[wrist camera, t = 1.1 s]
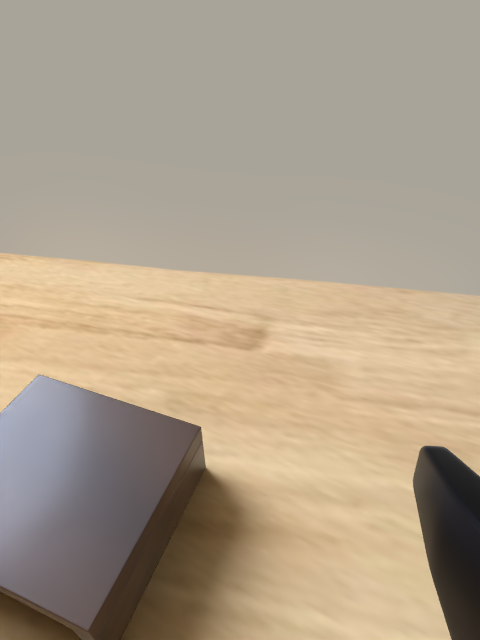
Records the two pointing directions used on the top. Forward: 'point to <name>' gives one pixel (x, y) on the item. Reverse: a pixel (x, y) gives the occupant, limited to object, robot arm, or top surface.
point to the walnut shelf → (89, 502)
